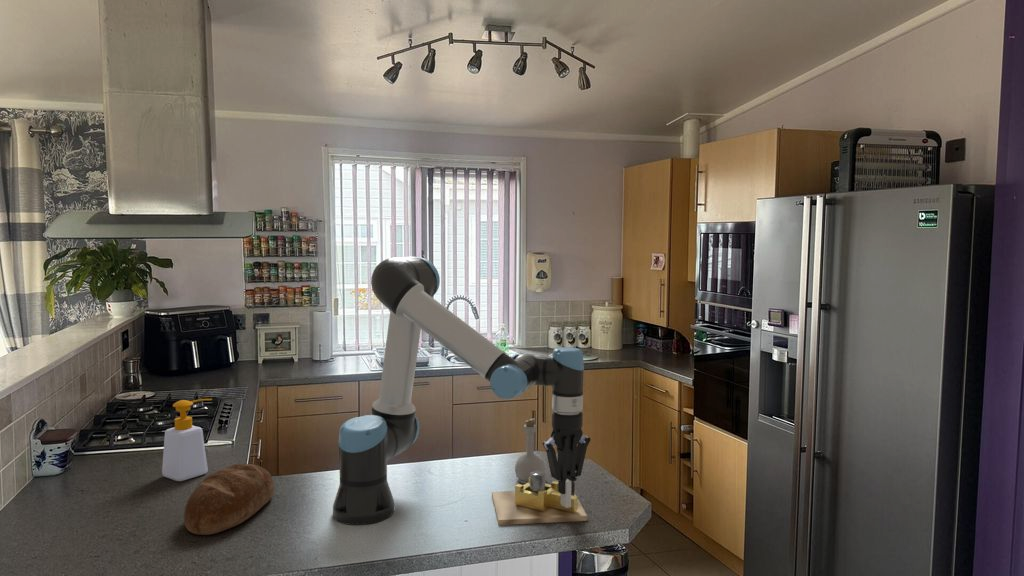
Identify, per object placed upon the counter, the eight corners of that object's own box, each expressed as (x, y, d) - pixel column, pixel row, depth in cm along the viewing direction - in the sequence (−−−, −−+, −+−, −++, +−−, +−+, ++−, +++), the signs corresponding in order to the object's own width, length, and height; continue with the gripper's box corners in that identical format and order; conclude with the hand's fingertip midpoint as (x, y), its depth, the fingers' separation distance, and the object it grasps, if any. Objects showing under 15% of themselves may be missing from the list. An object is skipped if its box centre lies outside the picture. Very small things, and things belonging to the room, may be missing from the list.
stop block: (566, 500, 171) (567, 483, 171) (565, 497, 173) (565, 480, 173) (574, 499, 171) (574, 483, 171) (572, 496, 173) (572, 480, 173)
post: (530, 511, 167) (531, 476, 166) (528, 505, 171) (528, 471, 170) (546, 510, 167) (546, 476, 166) (543, 504, 171) (544, 470, 170)
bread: (167, 537, 152) (165, 489, 151) (233, 489, 181) (232, 449, 180) (231, 540, 150) (229, 492, 149) (288, 492, 179) (287, 451, 178)
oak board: (498, 524, 159) (498, 520, 159) (491, 496, 176) (491, 491, 176) (587, 520, 161) (587, 515, 161) (571, 492, 179) (571, 488, 179)
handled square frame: (514, 504, 167) (515, 485, 167) (531, 493, 175) (531, 475, 174) (568, 517, 159) (568, 498, 159) (583, 505, 167) (583, 487, 166)
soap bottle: (223, 469, 196) (221, 396, 195) (178, 483, 184) (176, 406, 183) (204, 463, 201) (202, 392, 200) (159, 477, 190) (157, 401, 188)
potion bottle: (542, 486, 184) (543, 423, 182) (511, 484, 185) (511, 421, 184) (547, 475, 192) (547, 415, 191) (517, 473, 194) (517, 413, 193)
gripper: (553, 417, 154) (551, 515, 155) (597, 411, 160) (595, 506, 162) (536, 410, 161) (535, 504, 162) (580, 405, 167) (578, 495, 168)
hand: (565, 505), depth 162 cm, fingers closed
